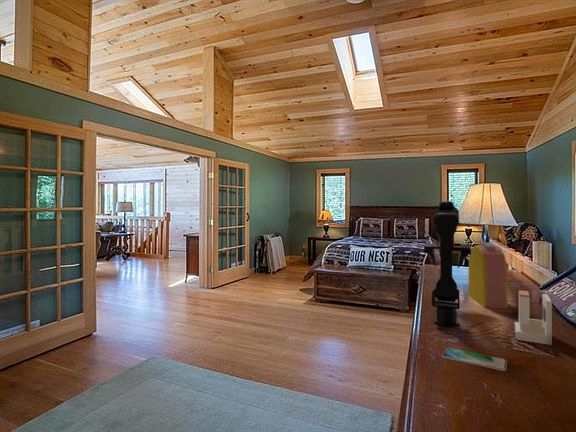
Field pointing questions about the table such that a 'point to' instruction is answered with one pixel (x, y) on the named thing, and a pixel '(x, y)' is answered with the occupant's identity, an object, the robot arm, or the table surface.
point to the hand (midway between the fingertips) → (447, 266)
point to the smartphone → (475, 359)
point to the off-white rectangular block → (524, 308)
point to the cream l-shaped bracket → (538, 326)
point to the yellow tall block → (488, 276)
